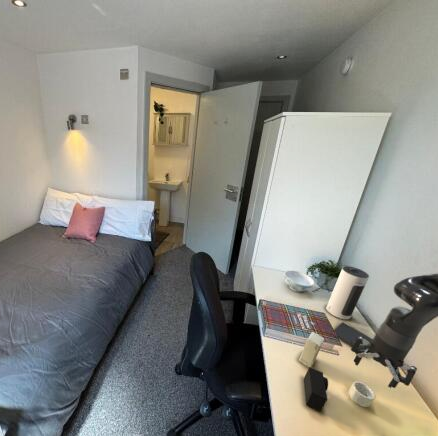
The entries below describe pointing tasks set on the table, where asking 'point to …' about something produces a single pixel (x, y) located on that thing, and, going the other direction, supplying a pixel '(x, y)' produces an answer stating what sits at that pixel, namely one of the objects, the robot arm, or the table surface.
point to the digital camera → (315, 389)
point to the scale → (350, 335)
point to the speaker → (347, 292)
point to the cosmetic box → (311, 349)
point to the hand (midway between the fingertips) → (372, 374)
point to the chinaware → (298, 281)
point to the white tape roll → (361, 394)
